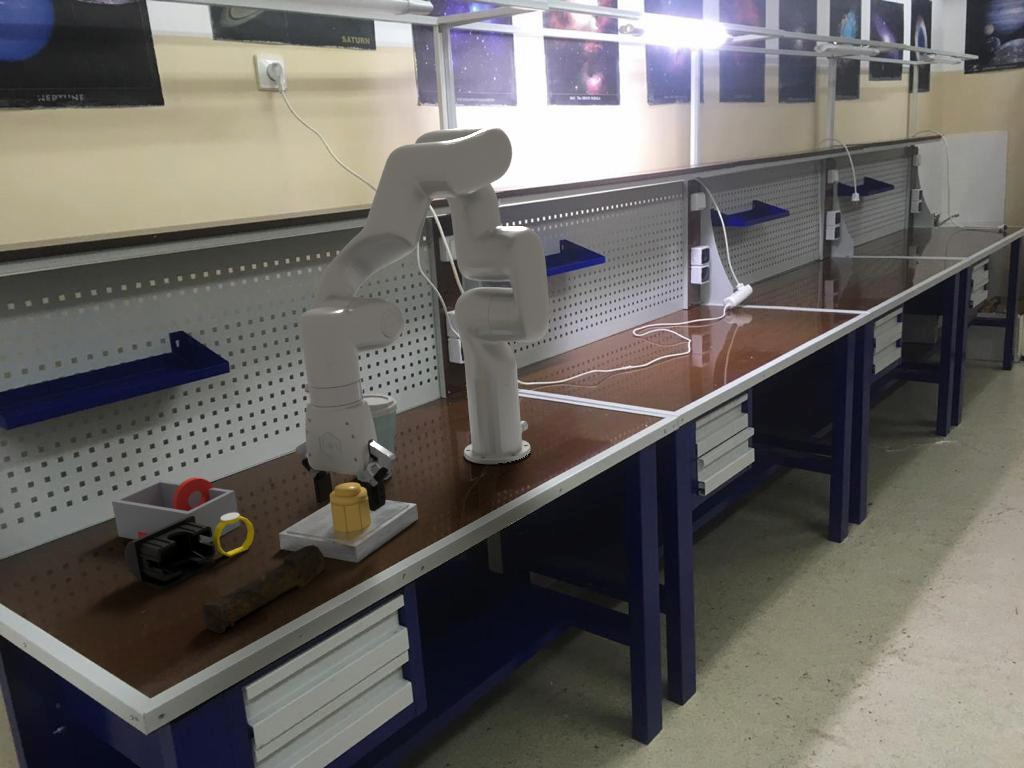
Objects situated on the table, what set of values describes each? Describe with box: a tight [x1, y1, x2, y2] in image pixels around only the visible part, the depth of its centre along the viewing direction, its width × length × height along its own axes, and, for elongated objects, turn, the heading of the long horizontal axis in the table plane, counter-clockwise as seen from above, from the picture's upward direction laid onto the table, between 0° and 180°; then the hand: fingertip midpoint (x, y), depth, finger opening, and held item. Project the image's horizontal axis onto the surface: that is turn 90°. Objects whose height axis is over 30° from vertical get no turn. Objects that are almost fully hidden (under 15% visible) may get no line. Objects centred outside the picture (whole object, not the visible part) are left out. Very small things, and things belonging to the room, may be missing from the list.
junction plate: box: [278, 499, 419, 564], centre depth 132 cm, size 16×14×6 cm
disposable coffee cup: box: [355, 393, 399, 483], centre depth 155 cm, size 11×11×15 cm
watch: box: [212, 512, 255, 558], centre depth 128 cm, size 6×3×6 cm, turn 137°
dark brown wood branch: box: [201, 545, 326, 634], centre depth 113 cm, size 19×4×5 cm, turn 144°
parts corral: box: [111, 479, 241, 544], centre depth 138 cm, size 10×17×6 cm, turn 63°
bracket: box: [138, 476, 215, 538], centre depth 137 cm, size 12×4×8 cm, turn 138°
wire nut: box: [329, 481, 371, 532], centre depth 129 cm, size 5×5×6 cm
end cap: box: [124, 516, 216, 591], centre depth 123 cm, size 10×7×7 cm
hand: (351, 503), depth 129 cm, fingers open, 9 cm apart
